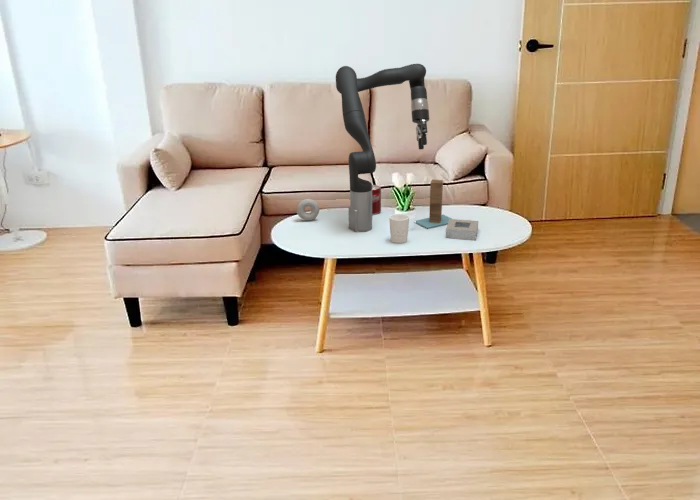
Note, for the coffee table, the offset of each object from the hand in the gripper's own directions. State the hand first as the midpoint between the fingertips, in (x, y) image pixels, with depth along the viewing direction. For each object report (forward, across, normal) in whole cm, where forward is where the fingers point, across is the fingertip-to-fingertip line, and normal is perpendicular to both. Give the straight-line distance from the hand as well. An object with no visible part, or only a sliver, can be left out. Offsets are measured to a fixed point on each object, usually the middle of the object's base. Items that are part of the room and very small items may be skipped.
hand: (422, 147), depth 273 cm
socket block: (+40, +11, +12) cm, 43 cm away
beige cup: (+41, +15, -15) cm, 46 cm away
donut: (+28, -10, -52) cm, 60 cm away
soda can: (+25, -17, -22) cm, 38 cm away
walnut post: (+32, -2, +3) cm, 33 cm away
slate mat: (+33, -2, +3) cm, 33 cm away
